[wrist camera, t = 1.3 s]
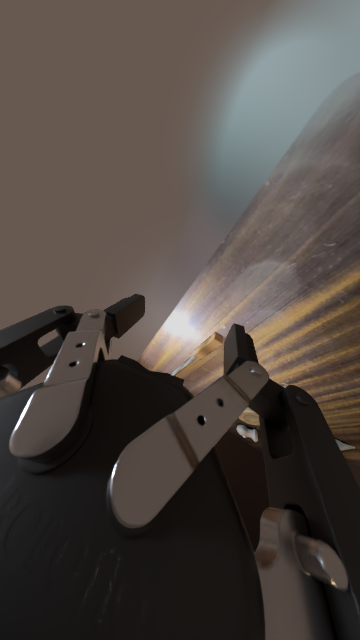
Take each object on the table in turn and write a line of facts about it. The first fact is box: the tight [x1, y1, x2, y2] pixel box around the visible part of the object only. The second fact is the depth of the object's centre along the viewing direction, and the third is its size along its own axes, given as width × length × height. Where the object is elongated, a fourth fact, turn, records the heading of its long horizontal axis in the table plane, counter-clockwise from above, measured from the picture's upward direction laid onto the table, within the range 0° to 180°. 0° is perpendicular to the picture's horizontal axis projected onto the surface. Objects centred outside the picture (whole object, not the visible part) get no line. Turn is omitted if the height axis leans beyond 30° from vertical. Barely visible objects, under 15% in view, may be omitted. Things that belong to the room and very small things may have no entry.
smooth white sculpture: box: [237, 425, 258, 442], centre depth 54 cm, size 4×8×5 cm
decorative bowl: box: [238, 407, 260, 425], centre depth 45 cm, size 15×4×15 cm
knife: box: [171, 332, 223, 376], centre depth 41 cm, size 29×2×3 cm, turn 149°
